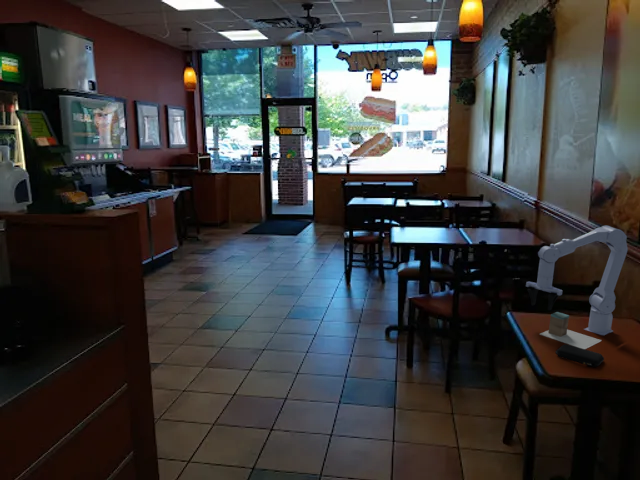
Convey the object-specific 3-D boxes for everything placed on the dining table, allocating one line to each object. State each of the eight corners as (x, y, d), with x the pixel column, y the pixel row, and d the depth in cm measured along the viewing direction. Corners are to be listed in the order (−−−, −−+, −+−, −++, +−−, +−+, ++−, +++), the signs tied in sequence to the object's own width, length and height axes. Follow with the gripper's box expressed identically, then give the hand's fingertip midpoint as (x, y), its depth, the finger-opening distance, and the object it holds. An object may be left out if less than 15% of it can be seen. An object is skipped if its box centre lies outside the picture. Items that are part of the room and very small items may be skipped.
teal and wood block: (554, 330, 210) (557, 311, 208) (566, 334, 206) (569, 315, 204) (548, 332, 207) (550, 314, 205) (560, 336, 203) (563, 317, 201)
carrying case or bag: (552, 357, 185) (596, 371, 176) (553, 350, 185) (597, 363, 175) (561, 349, 193) (604, 361, 184) (562, 341, 193) (605, 353, 183)
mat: (557, 327, 214) (557, 326, 214) (601, 341, 201) (602, 340, 200) (539, 335, 205) (539, 334, 205) (584, 350, 191) (584, 349, 191)
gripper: (523, 273, 211) (519, 304, 214) (557, 281, 200) (553, 314, 202) (532, 270, 215) (528, 301, 218) (566, 278, 204) (562, 310, 207)
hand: (541, 307), depth 210 cm, fingers open, 6 cm apart
